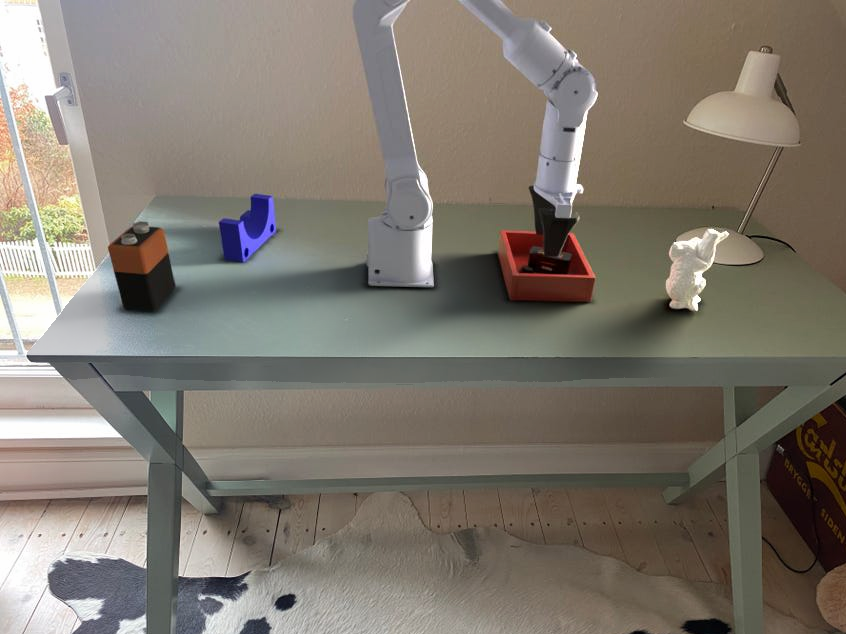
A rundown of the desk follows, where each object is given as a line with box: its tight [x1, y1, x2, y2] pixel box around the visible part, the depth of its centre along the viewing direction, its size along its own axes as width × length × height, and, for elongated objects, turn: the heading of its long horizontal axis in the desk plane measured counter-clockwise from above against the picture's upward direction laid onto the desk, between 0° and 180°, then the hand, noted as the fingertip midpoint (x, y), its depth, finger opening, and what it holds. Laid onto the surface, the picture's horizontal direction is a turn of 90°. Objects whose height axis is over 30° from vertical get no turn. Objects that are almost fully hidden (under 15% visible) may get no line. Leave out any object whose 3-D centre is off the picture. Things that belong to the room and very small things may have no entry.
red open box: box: [497, 230, 596, 303], centre depth 102 cm, size 12×16×4 cm
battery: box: [107, 220, 176, 312], centre depth 85 cm, size 4×7×10 cm, turn 178°
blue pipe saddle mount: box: [218, 193, 277, 263], centre depth 102 cm, size 12×4×6 cm, turn 171°
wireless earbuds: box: [519, 246, 572, 275], centre depth 102 cm, size 5×7×3 cm, turn 73°
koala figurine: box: [665, 228, 730, 312], centre depth 96 cm, size 8×7×12 cm
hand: (546, 244), depth 100 cm, fingers open, 7 cm apart
